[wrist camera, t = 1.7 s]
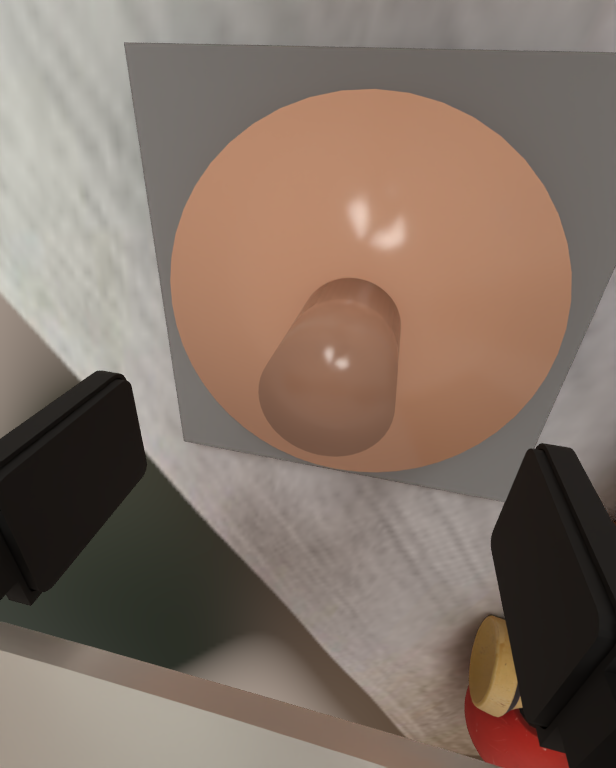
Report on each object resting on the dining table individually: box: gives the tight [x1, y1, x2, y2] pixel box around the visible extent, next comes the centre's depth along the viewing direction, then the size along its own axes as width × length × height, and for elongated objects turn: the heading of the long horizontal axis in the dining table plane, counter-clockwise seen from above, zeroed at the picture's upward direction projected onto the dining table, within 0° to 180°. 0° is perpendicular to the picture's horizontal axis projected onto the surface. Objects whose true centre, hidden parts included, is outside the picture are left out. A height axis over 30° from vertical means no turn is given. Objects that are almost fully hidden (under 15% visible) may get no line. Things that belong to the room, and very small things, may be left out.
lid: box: [170, 89, 572, 472], centre depth 13 cm, size 14×14×6 cm
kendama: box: [465, 522, 616, 768], centre depth 22 cm, size 8×6×18 cm
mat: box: [124, 43, 616, 502], centre depth 16 cm, size 16×16×1 cm
